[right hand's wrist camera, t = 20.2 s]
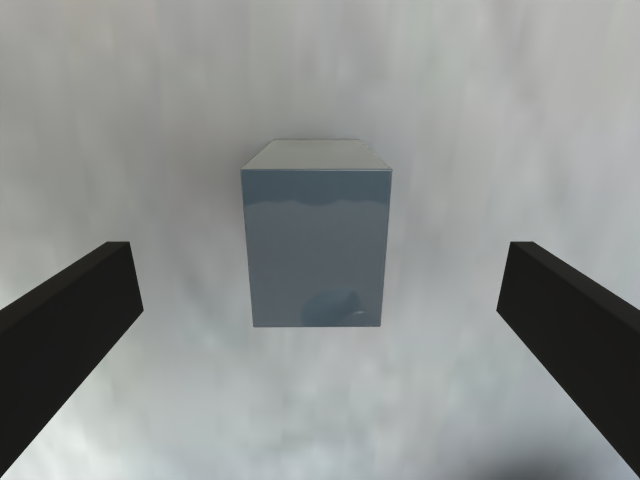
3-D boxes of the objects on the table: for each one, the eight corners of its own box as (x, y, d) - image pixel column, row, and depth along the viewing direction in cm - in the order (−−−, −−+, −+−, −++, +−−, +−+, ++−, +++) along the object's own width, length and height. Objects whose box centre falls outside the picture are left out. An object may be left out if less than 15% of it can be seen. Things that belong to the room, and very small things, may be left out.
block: (356, 239, 25) (380, 327, 15) (277, 240, 25) (253, 327, 15) (360, 139, 22) (392, 168, 13) (272, 139, 22) (240, 169, 13)
